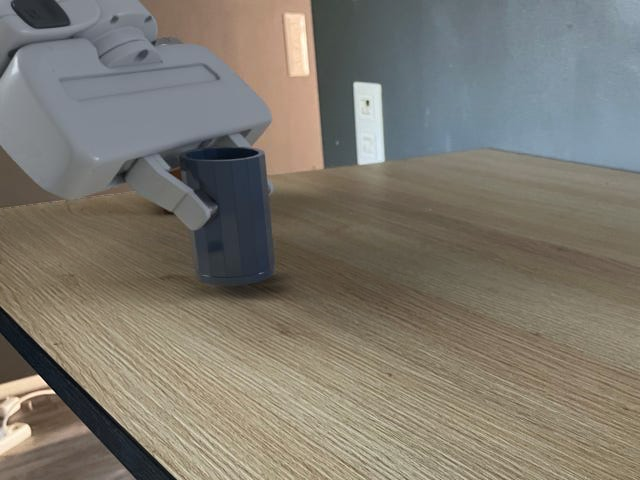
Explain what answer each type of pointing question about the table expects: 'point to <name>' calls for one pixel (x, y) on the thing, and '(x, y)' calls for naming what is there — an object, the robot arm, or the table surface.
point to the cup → (231, 215)
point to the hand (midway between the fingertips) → (237, 209)
